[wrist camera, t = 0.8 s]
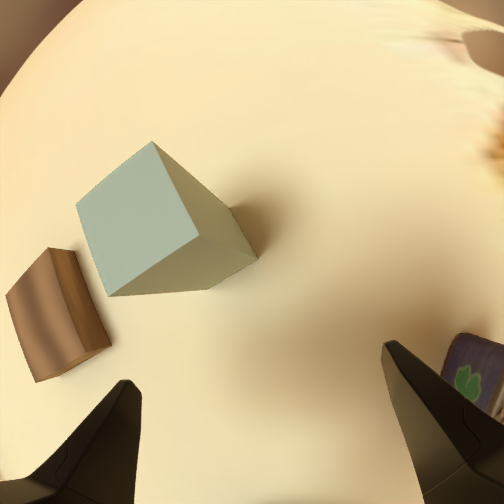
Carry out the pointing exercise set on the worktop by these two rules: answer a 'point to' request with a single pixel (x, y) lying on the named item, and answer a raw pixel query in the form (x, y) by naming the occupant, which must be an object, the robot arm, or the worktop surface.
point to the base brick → (55, 315)
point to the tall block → (160, 229)
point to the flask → (477, 372)
